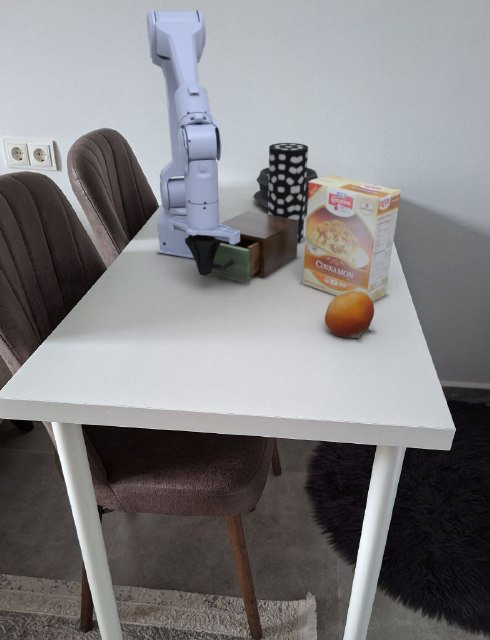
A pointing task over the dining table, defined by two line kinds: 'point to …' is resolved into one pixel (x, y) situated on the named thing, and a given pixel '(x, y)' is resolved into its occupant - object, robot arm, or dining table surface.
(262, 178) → the casserole
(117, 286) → the dining table surface
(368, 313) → the fruit
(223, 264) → the drawer
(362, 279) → the coffeecake box
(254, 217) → the cabinet
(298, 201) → the spotted tube
